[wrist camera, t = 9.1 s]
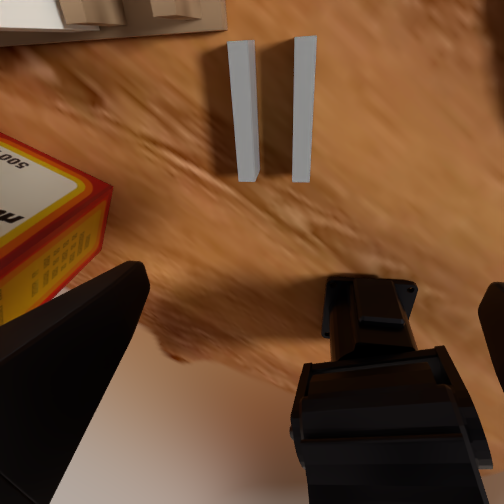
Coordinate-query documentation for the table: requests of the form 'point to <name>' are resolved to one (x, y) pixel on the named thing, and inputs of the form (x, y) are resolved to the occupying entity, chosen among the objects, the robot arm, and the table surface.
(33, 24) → the white slim box
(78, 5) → the rack
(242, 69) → the stand
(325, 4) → the table surface
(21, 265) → the baking soda box
